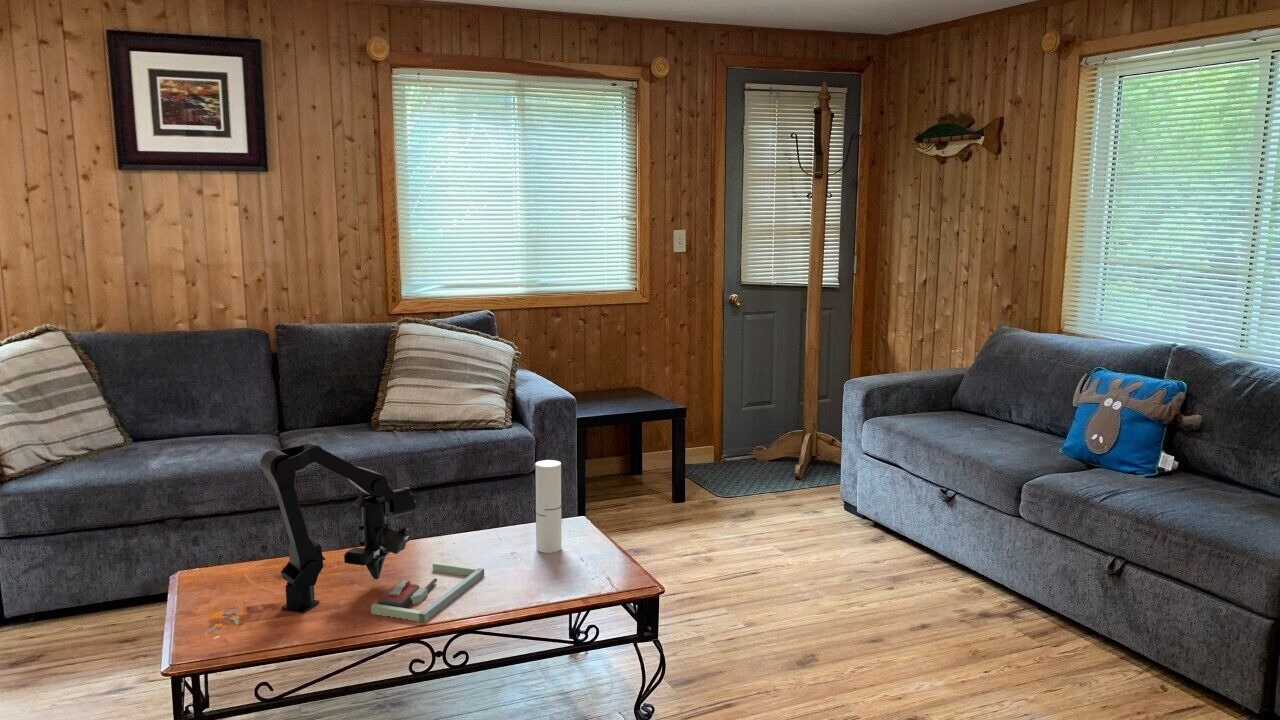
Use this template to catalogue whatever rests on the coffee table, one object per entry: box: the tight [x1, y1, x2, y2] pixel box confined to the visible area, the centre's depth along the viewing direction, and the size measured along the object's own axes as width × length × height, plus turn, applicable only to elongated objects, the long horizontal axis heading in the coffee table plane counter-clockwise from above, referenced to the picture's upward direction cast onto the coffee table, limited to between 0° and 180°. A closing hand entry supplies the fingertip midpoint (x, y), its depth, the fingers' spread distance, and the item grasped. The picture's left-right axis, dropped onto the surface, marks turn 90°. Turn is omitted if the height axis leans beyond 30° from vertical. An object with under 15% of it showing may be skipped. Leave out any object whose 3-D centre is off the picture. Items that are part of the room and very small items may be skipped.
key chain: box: [205, 606, 241, 633], centre depth 225 cm, size 13×7×1 cm, turn 16°
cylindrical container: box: [534, 459, 562, 554], centre depth 270 cm, size 7×7×25 cm
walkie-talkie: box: [376, 578, 438, 609], centre depth 238 cm, size 9×4×20 cm
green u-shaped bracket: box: [370, 561, 485, 624], centre depth 240 cm, size 30×14×2 cm, turn 162°
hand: (376, 578), depth 245 cm, fingers closed
